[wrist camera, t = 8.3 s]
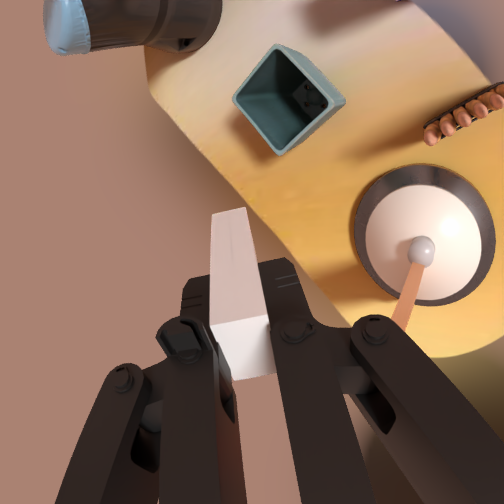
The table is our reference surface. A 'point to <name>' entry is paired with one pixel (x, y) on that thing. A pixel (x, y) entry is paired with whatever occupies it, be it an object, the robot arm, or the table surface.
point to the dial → (422, 245)
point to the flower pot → (286, 98)
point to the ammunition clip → (464, 113)
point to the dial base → (439, 178)
